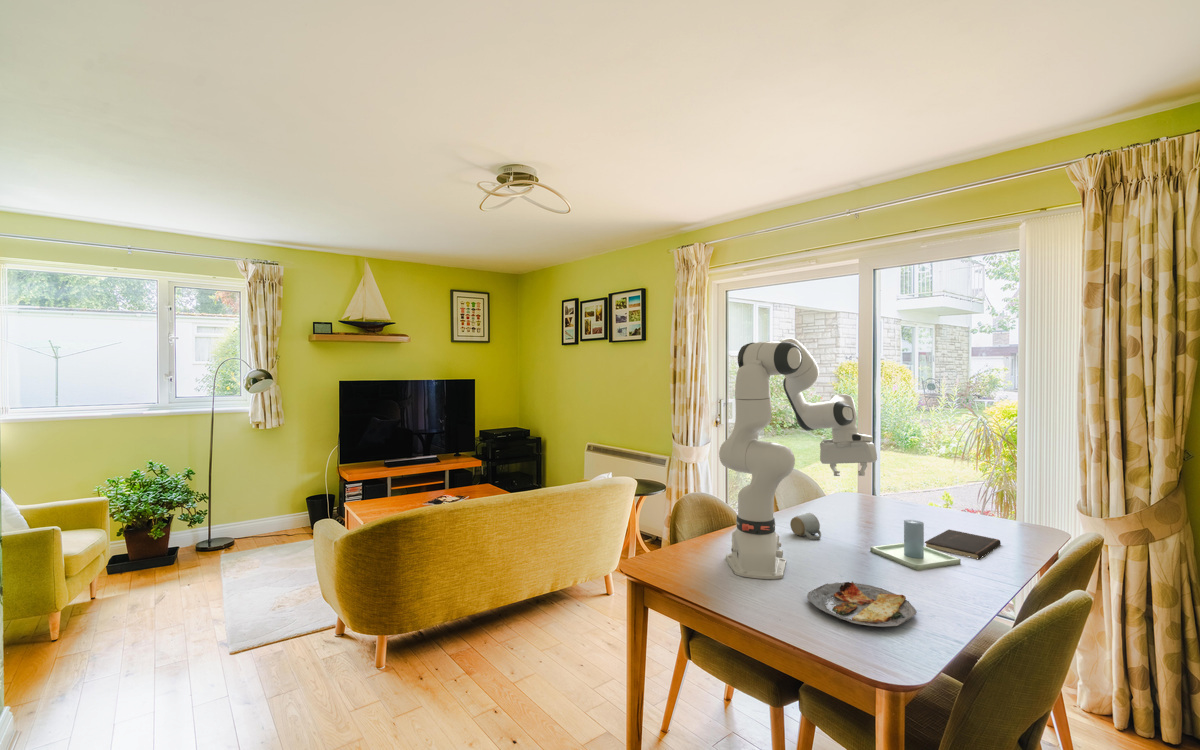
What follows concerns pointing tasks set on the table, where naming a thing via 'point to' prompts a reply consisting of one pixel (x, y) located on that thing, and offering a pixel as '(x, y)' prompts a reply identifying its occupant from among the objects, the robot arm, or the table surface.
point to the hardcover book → (963, 543)
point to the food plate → (863, 604)
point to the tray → (929, 560)
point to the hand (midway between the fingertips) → (849, 476)
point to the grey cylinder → (914, 539)
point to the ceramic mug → (806, 525)
